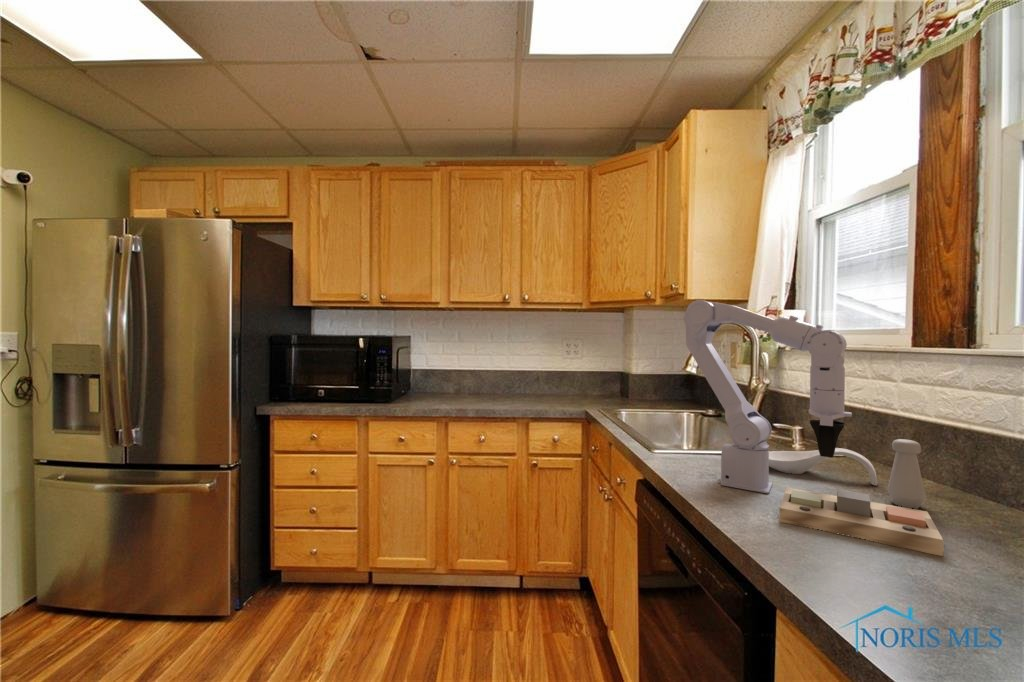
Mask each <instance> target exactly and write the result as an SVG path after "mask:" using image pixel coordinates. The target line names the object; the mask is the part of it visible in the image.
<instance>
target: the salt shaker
mask: <svg viewBox="0 0 1024 682" xmlns="http://www.w3.org/2000/svg"><path fill="white" fill-rule="evenodd" d="M891 446H892V450H893V451H895V455H894V459H893V464H892V468H891V470H890V471H891V472H890V477H889V481H888V486H887V488H886V489H887V493H888V495H889V497H890V499H891V501H892V504H894V506H897V505H898V507H901V506H902V507H904V508H910V509H912V508H914V509H915V510H919V509H920V507H921V506H922V505H923V503H925V501H926V499H927V496H926V495H927V494H926V491H925V487H924V483H923V478H922V474H921V469H920V465H919V460H918V454H921V452H922V446H921V444H920V443H919V442H917V441H915V440H911V439H906V438H905V439H904V438H898V439H894V440H893V441H892V443H891Z"/></svg>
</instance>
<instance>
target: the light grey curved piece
mask: <svg viewBox="0 0 1024 682" xmlns="http://www.w3.org/2000/svg"><path fill="white" fill-rule="evenodd" d="M836 456H843V457H849V458H851V459H854V460H856V461H857V462H859V463H861V465H863V466H864V467H865V469H866V470H867V472H868V475H869V482H870V484H871V485H873V486H878V484H879V483H878V482H879V481H878V477H877V472H876V469H875V467H874V465H873V464H872V462H871V461H870V460H869V459H868V458H866V457H865V456H864V455H863V454H861V453H858V452H856V451H854V450H850V449H847V448H841V447H840V448H839V447H835V452H834V455H833V457H836ZM828 458H830V457H824V456H820V453H819V449H817V450H801V451H795V450H794V451H793V450H790V451H789V450H774V451H773V450H772V451H770V450H769V467H770V468H771V469H773V470H776V471H778V472H781V473H786V474H791V473H792V474H793V475H801V474H804V473H805V472H807V471H809V470H810V469H812V468H813V467H815V466H816V465H818V464H820V463H821V462H822V461H824V460H826V459H828Z"/></svg>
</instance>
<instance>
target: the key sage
mask: <svg viewBox="0 0 1024 682" xmlns="http://www.w3.org/2000/svg"><path fill="white" fill-rule="evenodd" d="M791 503H795V504H801V505H806V506H811V507H817V508H821V495H819V494H813V493H807V492H801V491H796V490H793V491H792V494H791Z"/></svg>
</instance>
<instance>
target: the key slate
mask: <svg viewBox="0 0 1024 682" xmlns="http://www.w3.org/2000/svg"><path fill="white" fill-rule="evenodd" d="M836 496H837V511H838V512H843V513H849V514H854V515H859V516H865V517H870V502H871V498H870V495H869V493H861V492H857V491H856V492H855V491H850V490H845V489H839V488H837V489H836Z"/></svg>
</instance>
